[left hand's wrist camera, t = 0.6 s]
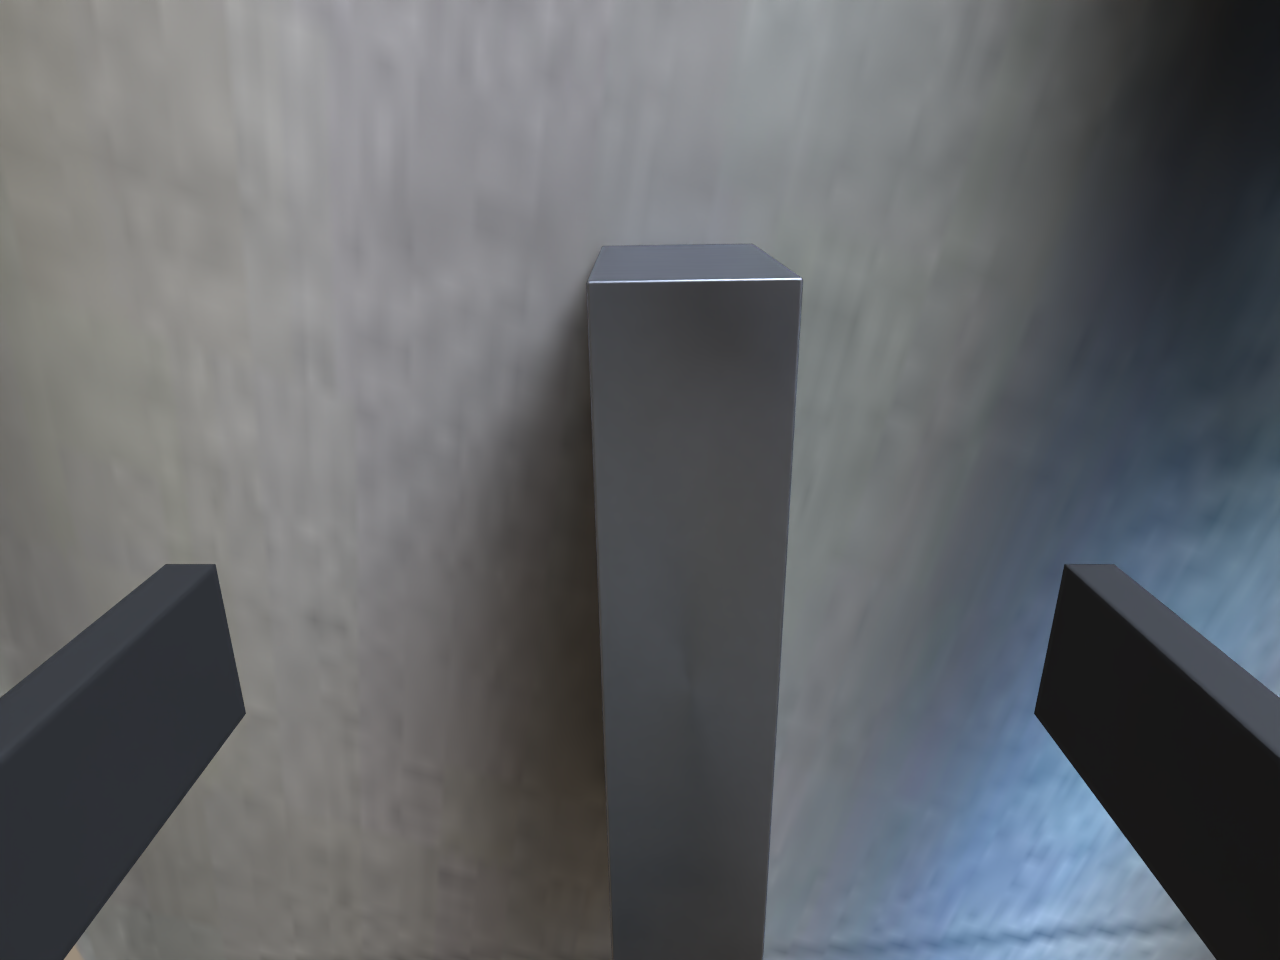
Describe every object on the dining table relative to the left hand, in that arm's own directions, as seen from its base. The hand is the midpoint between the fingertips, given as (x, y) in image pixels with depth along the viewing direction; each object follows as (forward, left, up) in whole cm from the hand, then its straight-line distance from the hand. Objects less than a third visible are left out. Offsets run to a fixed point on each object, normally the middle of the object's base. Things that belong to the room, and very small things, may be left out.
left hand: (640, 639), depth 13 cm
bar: (+7, +1, -17) cm, 18 cm away
